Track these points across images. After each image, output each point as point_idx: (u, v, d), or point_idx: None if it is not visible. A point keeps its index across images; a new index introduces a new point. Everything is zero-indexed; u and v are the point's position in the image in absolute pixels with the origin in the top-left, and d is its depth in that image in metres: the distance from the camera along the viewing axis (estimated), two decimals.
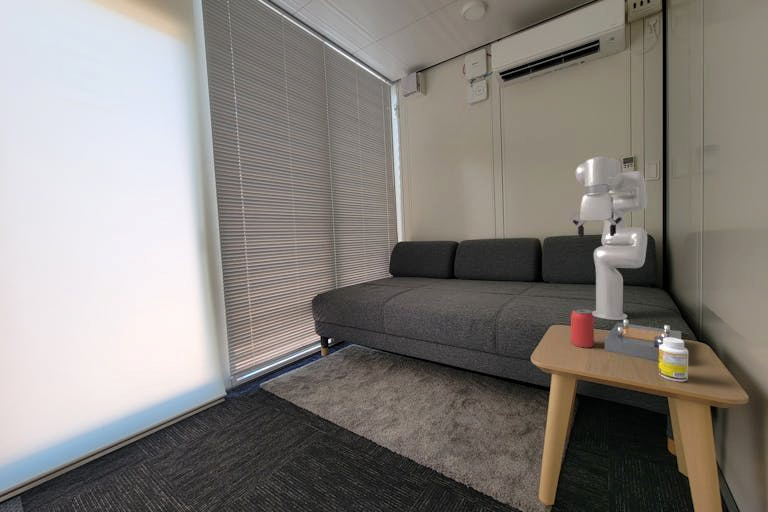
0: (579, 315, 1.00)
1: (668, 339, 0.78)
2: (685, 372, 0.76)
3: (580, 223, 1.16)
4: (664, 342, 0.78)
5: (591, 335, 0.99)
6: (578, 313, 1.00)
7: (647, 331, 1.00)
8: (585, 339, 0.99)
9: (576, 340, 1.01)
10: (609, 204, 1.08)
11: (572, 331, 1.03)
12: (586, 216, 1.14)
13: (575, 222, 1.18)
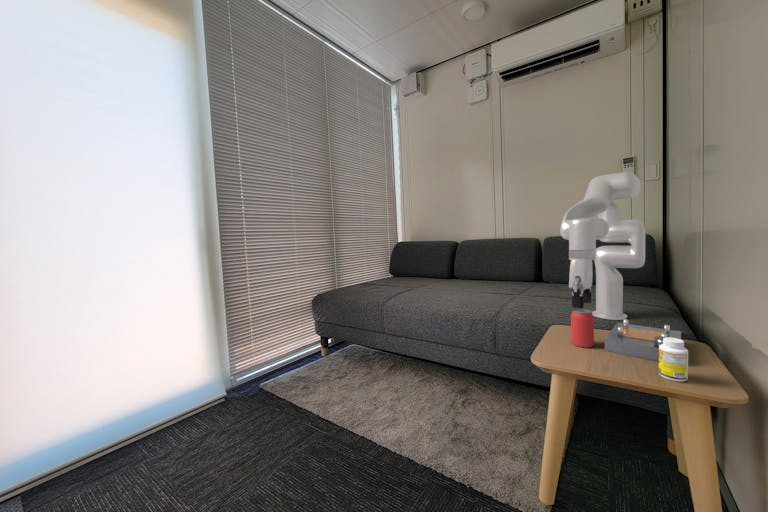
0: (579, 315, 1.00)
1: (668, 339, 0.78)
2: (685, 372, 0.76)
3: (582, 292, 0.97)
4: (664, 342, 0.78)
5: (591, 335, 0.99)
6: (578, 313, 1.00)
7: (647, 331, 1.00)
8: (585, 339, 0.99)
9: (576, 340, 1.01)
10: None
11: (572, 331, 1.03)
12: (587, 284, 0.97)
13: (579, 291, 0.96)
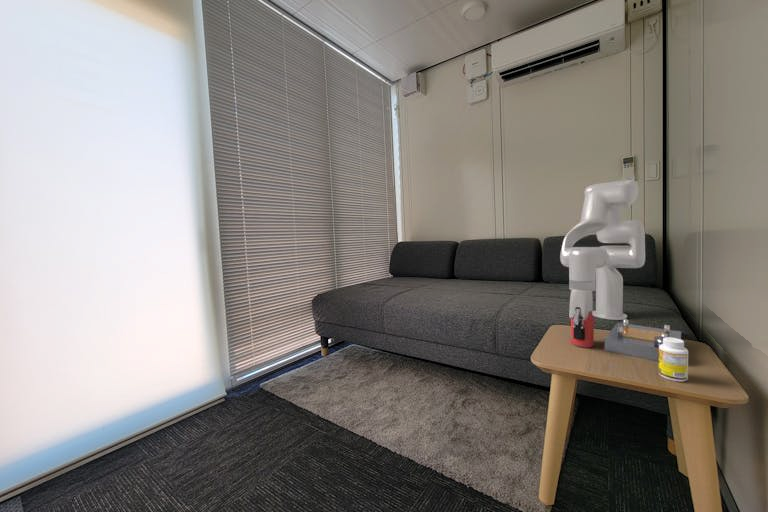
0: None
1: (668, 339, 0.78)
2: (685, 372, 0.76)
3: (583, 324, 0.99)
4: (664, 342, 0.78)
5: (591, 335, 0.99)
6: None
7: (647, 331, 1.00)
8: (585, 339, 0.99)
9: (576, 340, 1.01)
10: (592, 299, 1.03)
11: (572, 331, 1.03)
12: (587, 314, 0.98)
13: None
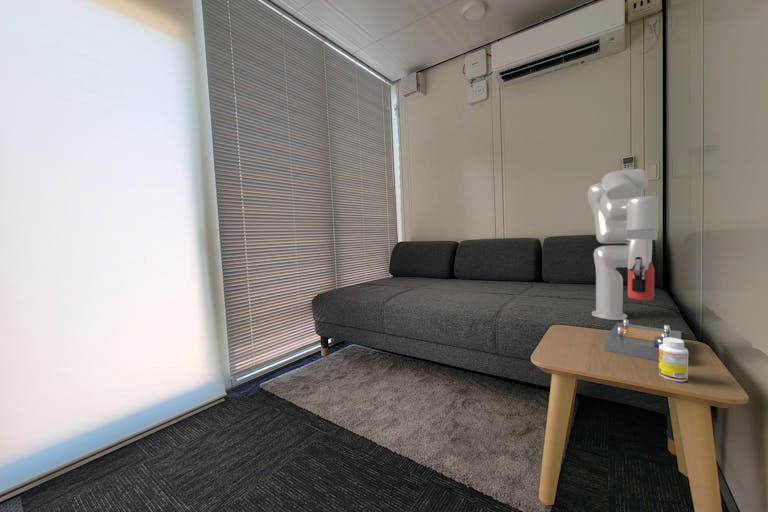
0: None
1: (668, 339, 0.78)
2: (685, 372, 0.76)
3: (644, 275, 0.94)
4: (664, 342, 0.78)
5: (652, 287, 0.94)
6: None
7: (647, 331, 1.00)
8: (645, 291, 0.95)
9: (634, 292, 0.96)
10: None
11: (630, 284, 0.98)
12: (648, 265, 0.93)
13: (641, 274, 0.93)
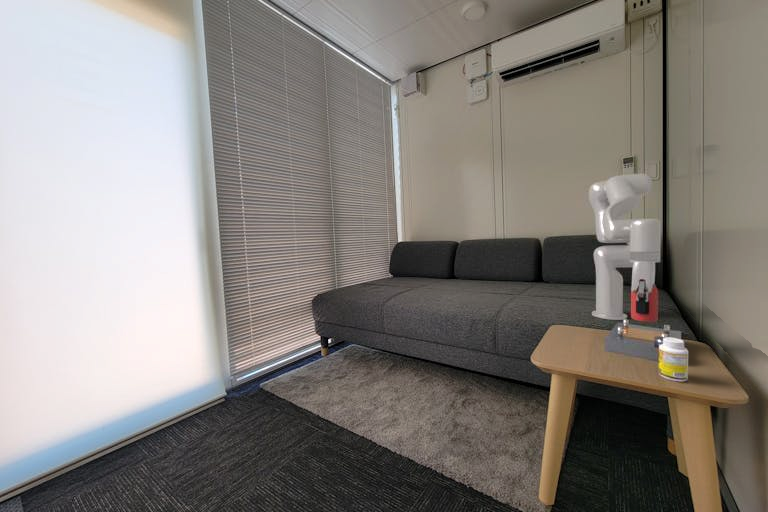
0: None
1: (668, 339, 0.78)
2: (685, 372, 0.76)
3: None
4: (664, 342, 0.78)
5: (655, 309, 0.94)
6: None
7: (647, 331, 1.00)
8: (649, 313, 0.95)
9: (638, 314, 0.96)
10: None
11: (633, 306, 0.98)
12: (652, 287, 0.94)
13: (645, 297, 0.93)
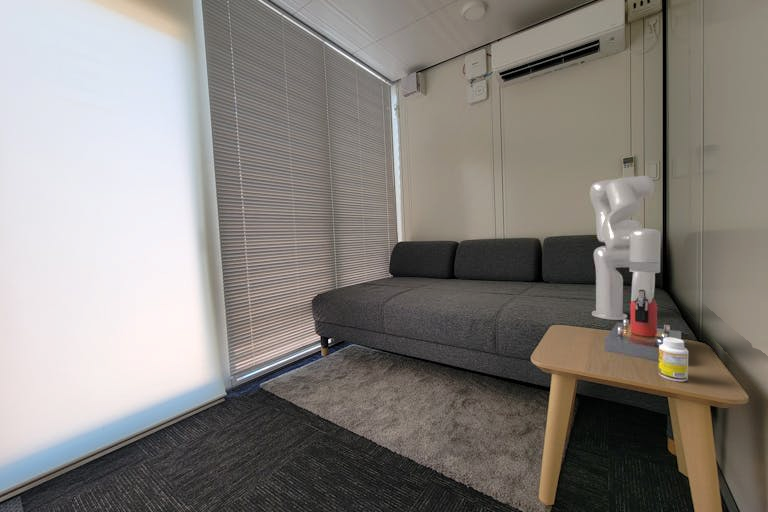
0: None
1: (668, 339, 0.78)
2: (685, 372, 0.76)
3: (647, 306, 0.93)
4: (664, 342, 0.78)
5: (655, 323, 0.95)
6: None
7: None
8: (648, 327, 0.95)
9: (637, 328, 0.97)
10: None
11: (633, 320, 0.98)
12: (652, 297, 0.94)
13: (644, 306, 0.92)
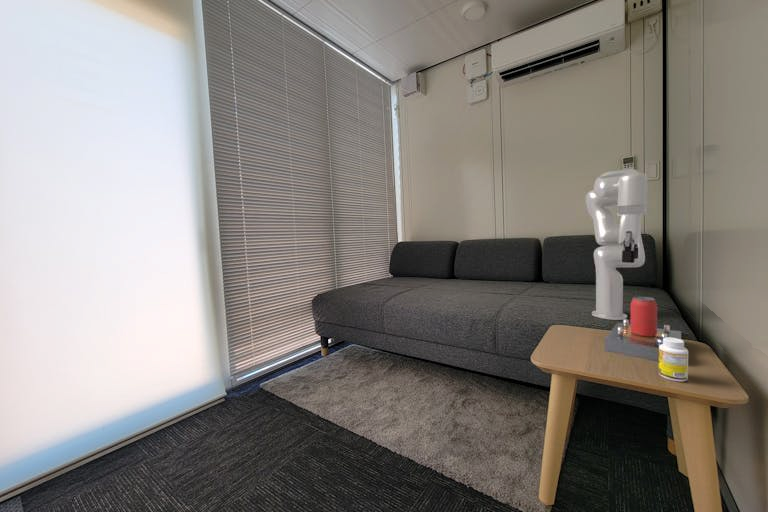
0: (642, 302, 0.96)
1: (668, 339, 0.78)
2: (685, 372, 0.76)
3: (633, 247, 0.98)
4: (664, 342, 0.78)
5: (655, 323, 0.95)
6: (640, 300, 0.96)
7: None
8: (648, 327, 0.95)
9: (637, 328, 0.97)
10: None
11: (633, 320, 0.98)
12: (638, 238, 0.99)
13: (630, 246, 0.97)
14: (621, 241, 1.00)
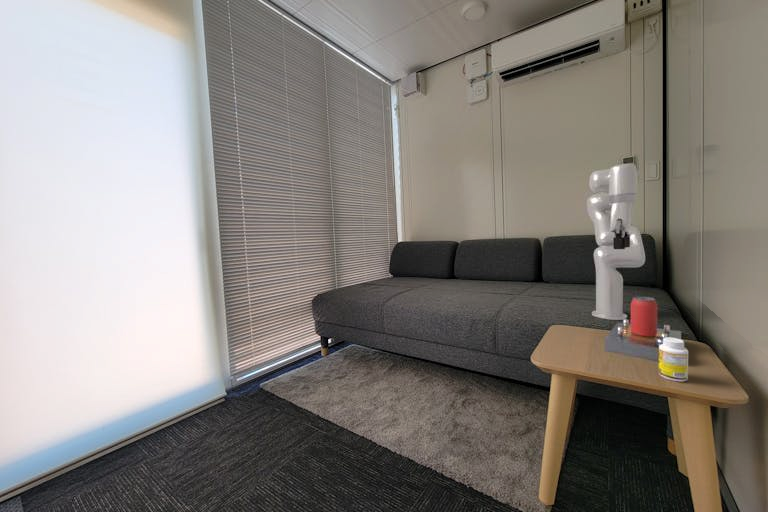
0: (642, 302, 0.96)
1: (668, 339, 0.78)
2: (685, 372, 0.76)
3: (624, 234, 1.02)
4: (664, 342, 0.78)
5: (655, 323, 0.95)
6: (641, 300, 0.96)
7: None
8: (648, 327, 0.95)
9: (638, 328, 0.97)
10: None
11: (633, 320, 0.98)
12: (628, 226, 1.03)
13: (621, 232, 1.01)
14: (612, 229, 1.04)
